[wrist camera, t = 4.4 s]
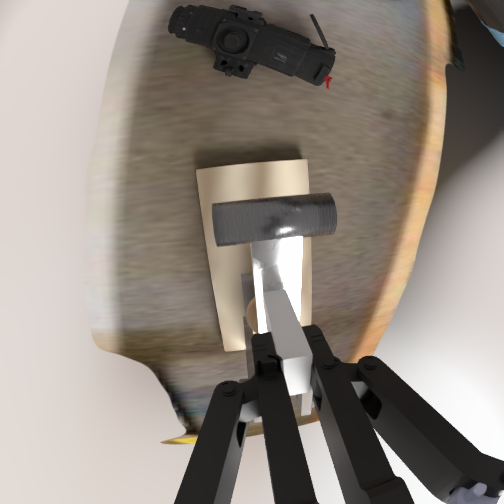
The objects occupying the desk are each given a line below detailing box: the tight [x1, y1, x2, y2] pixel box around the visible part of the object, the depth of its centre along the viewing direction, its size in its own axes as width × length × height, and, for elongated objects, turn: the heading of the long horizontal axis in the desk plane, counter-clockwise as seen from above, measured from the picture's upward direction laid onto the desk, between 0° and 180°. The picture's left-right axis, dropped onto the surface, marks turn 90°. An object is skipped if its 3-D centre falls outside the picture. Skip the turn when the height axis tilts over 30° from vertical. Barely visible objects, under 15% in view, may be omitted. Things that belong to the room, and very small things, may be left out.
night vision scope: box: [168, 5, 336, 89], centre depth 22 cm, size 8×18×10 cm
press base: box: [196, 159, 313, 422], centre depth 27 cm, size 12×24×15 cm, turn 5°
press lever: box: [212, 193, 337, 333], centre depth 21 cm, size 7×21×3 cm, turn 5°
